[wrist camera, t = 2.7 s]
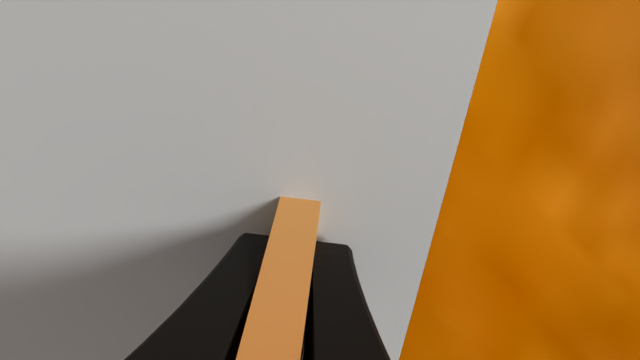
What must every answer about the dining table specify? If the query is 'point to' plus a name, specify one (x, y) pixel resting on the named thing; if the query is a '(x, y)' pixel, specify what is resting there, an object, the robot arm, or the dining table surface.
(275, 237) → the carton lid
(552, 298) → the dining table surface
